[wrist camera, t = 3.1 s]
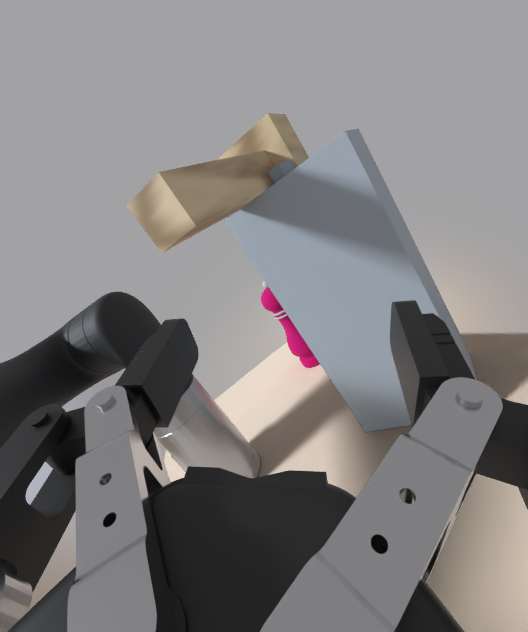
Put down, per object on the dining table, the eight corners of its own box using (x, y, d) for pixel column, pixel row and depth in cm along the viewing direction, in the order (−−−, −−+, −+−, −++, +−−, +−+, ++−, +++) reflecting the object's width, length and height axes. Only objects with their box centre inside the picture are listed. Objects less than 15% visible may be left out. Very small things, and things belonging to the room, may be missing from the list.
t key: (144, 267, 22) (85, 191, 21) (261, 200, 41) (235, 158, 40) (220, 206, 18) (153, 105, 16) (311, 162, 37) (285, 114, 35)
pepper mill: (318, 345, 70) (270, 271, 65) (338, 349, 63) (286, 268, 58) (295, 366, 68) (244, 292, 62) (313, 372, 61) (257, 290, 56)
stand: (365, 432, 41) (217, 210, 32) (371, 377, 50) (256, 191, 41) (488, 413, 33) (337, 116, 24) (469, 352, 42) (353, 118, 33)
